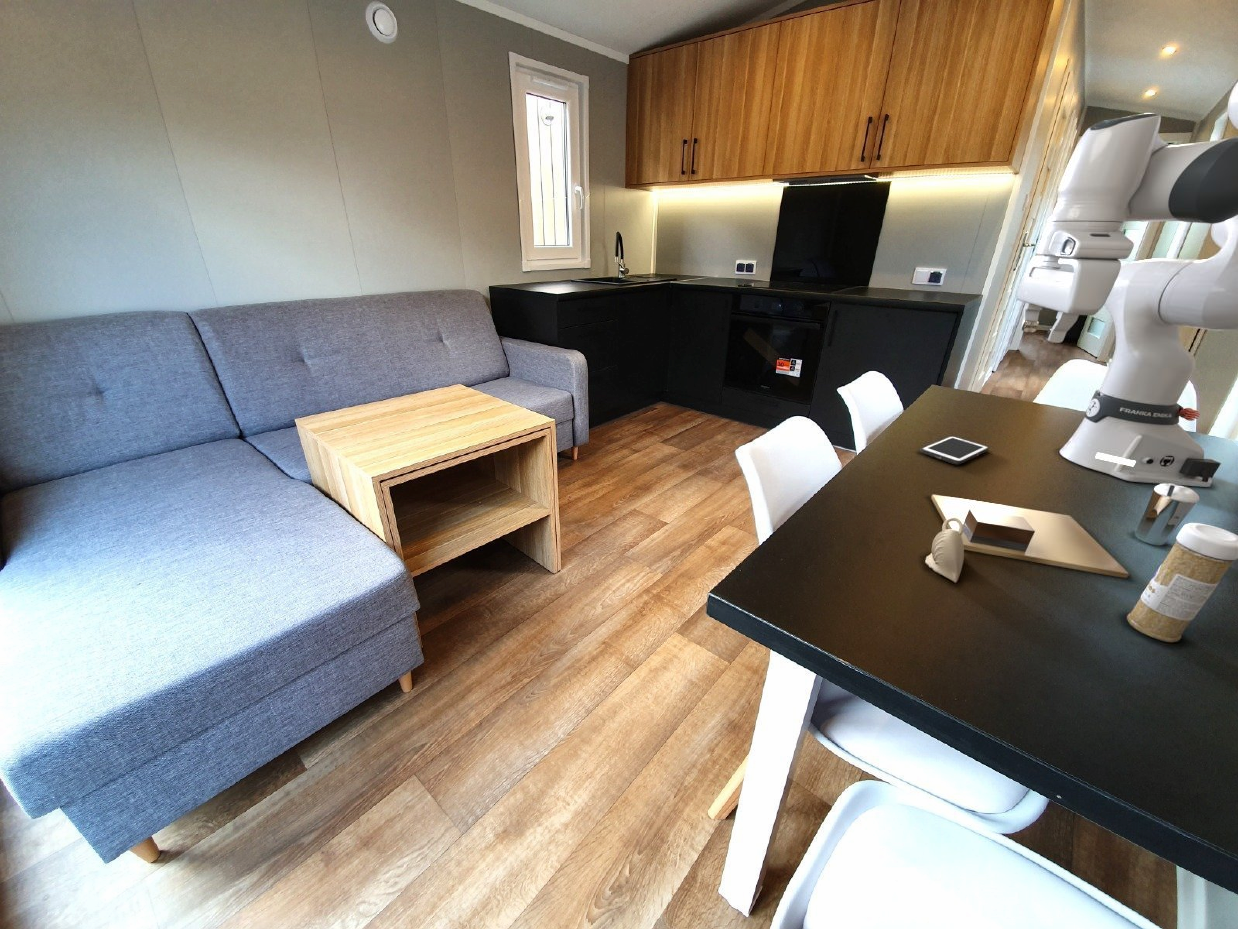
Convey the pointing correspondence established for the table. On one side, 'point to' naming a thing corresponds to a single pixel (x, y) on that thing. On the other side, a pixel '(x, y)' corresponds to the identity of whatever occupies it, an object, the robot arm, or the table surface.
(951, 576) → the decorative ornament
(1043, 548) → the writing board
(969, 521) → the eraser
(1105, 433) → the robot arm
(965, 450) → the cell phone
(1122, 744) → the table surface
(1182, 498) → the silver metal cylinder
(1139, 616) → the sprinkles bottle
